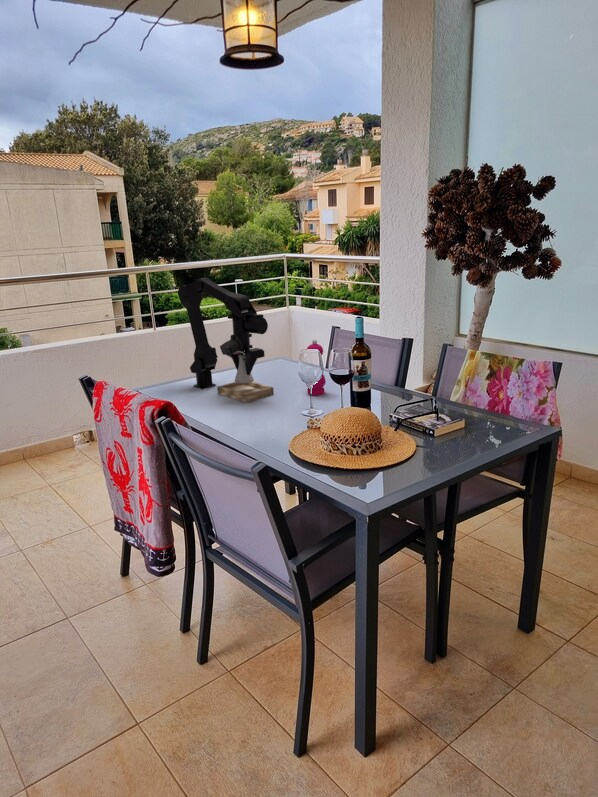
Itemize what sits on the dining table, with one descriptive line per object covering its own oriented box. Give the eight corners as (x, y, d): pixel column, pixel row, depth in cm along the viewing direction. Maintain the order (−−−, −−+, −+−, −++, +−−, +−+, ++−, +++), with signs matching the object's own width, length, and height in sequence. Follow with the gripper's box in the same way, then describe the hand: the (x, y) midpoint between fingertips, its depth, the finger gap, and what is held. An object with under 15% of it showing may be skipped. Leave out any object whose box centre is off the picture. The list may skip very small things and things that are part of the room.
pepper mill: (302, 392, 206) (300, 339, 200) (319, 389, 209) (318, 336, 203) (312, 397, 200) (310, 342, 194) (329, 394, 203) (328, 340, 197)
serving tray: (217, 393, 208) (217, 386, 207) (245, 386, 217) (244, 379, 216) (245, 403, 196) (245, 395, 195) (273, 394, 205) (273, 387, 204)
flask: (253, 384, 201) (251, 357, 198) (233, 384, 202) (231, 357, 199) (255, 378, 208) (253, 352, 205) (235, 378, 209) (234, 352, 205)
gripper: (207, 331, 201) (211, 373, 205) (239, 338, 188) (241, 383, 192) (232, 327, 208) (235, 367, 213) (264, 333, 195) (266, 376, 200)
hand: (243, 373), depth 204 cm, fingers closed on flask, 5 cm apart
